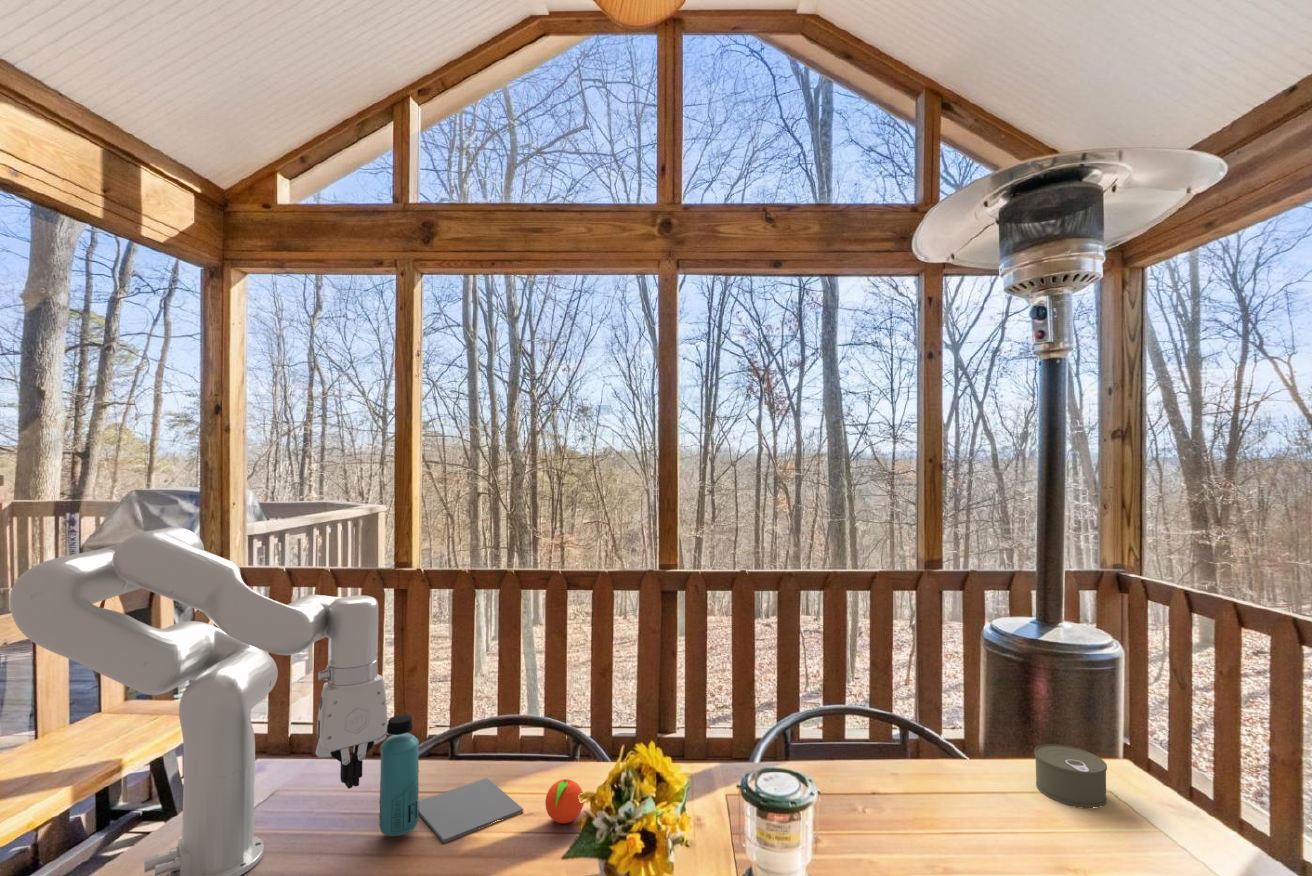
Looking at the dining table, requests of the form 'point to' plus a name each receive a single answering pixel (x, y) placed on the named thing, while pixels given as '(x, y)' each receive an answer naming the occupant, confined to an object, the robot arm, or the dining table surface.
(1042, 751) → the can
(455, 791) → the mat
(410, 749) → the beverage bottle
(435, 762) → the dining table surface
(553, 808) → the clementine
